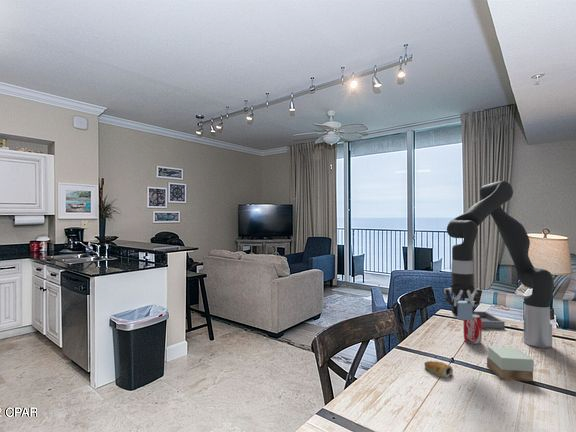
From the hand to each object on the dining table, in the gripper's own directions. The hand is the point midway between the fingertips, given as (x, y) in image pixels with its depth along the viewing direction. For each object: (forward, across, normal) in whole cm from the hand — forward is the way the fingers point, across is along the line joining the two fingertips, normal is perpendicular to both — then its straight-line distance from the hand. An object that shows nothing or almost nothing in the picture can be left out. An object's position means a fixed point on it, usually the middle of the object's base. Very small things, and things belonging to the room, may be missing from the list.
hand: (462, 315), depth 128 cm
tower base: (+18, -12, +10) cm, 24 cm away
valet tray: (+18, -30, -48) cm, 59 cm away
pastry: (+18, +13, +11) cm, 25 cm away
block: (+1, 0, 0) cm, 1 cm away
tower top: (+14, -12, +10) cm, 21 cm away
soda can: (+18, -13, -20) cm, 30 cm away
